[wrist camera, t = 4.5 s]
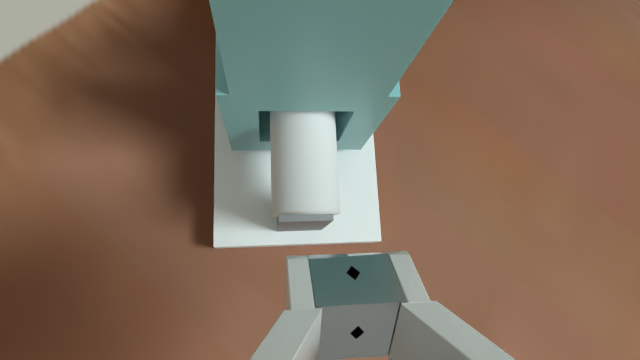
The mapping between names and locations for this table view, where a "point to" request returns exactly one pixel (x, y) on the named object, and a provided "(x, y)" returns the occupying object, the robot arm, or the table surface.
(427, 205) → the table surface
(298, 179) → the pipe stand
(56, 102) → the table surface
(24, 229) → the table surface
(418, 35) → the teal notched saddle block
